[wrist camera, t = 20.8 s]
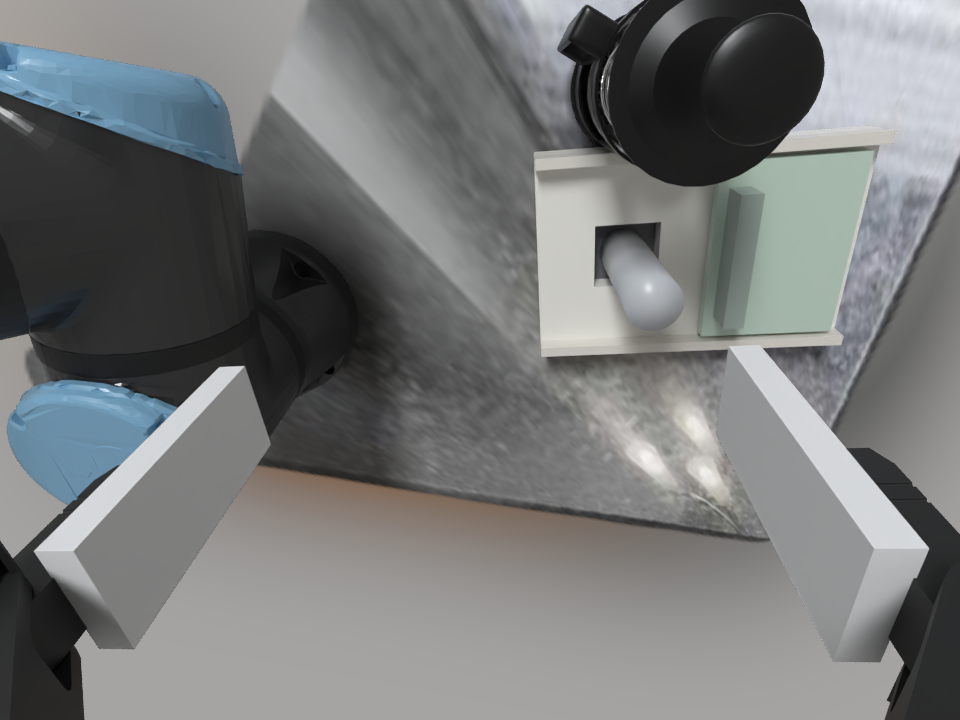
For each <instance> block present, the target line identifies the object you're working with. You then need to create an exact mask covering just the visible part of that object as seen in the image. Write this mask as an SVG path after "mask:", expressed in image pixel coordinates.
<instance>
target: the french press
mask: <svg viewBox="0 0 960 720" xmlns="http://www.w3.org/2000/svg"><path fill="white" fill-rule="evenodd" d="M641 7H642V8H641ZM640 8H641V9H640ZM557 50H558V52H560V53H561V54H563V55H565V56H566V57H568V58H570V59H571V60H573V61H575V62H576V65H575V69H574V73H573V77H572V82H571V100H572V108H573V111H574V114H575V117H576V120H577V122H578V124H579V126H580V127H581V129H582V131H583V132H584V133H585V135H586V136H587V137H588V138H589V139H590V140H591V141H592V142H593V143H595V144H596V145H598V146H599V147H606V148H608V149H609V150H611V151H612V152H614V153H615V154H617V155H619V156H620V157H622V158H623V159H625V160H626V161H628V162H629V163H631V164H633V165H635V166H637V167H639V168H640V169H642V170H643V171H644V172H646V173H647V174H648V175H650V176H651V177H654V178H656V179H658V180H661V181H663V182H665V183H668V184H673V185H678V186H683V187H703V186H708V185H713V184H718V183H722V182H725V181H727V180H730V179H732V178H735V177H737V176H740V175H741V174H743V173H745V172H746V171H748V170H750V169H751V168H753V167H755V166H756V165H758V164H759V163H760V162H761V161H763V160H764V159H765V158H766V157H767V156H768V155H770V154H771V153H772V152H773V151H774V150H775V149H776V148H777V147H778V145H779V144H780V143H781V142H782V141H783V140H784V138H785V137H786V136H787V135H788V134H789V132H790V131H791V129H793V128H794V127H795V126H796V125H797V124H798V123H799V122H800V121H801V120H802V119H803V118H804V117H805V115H806V114H807V113H808V112H809V110H810V109H811V107H812V105H813V104H814V102H815V100H816V98H817V96H818V93H819V91H820V89H821V85H822V81H823V76H824V63H825V62H824V55H823V49H822V46H821V44H820V41H819V38H818V37H817V35H816V34H815V32H814V31H813V29H812V25H811V23H810V20H809V17H808V15H807V12H806V9H805V7H804V5H803V4H802V2H801V1H800V0H644V1H642V2H641V3H640V4H638V5H637V6H636V7H634V8H633V9H632V10H630V11H629V12H628V13H627V14H626V15H623V16H621V17H619V18H618V19H616V20H615V21H614V20H612V19H610V18H609V17H607V16H606V15H604V14H602V13H601V12H599V11H598V10H596V9H594V8H593V7H591V6H589V5H585V6H584V7H583V8H582V9H581V11H580V12H579V13H578V14H577V15H576V17H575V18H574V19H573V20H572V21H571V23H570V24H569V26H568V28H567V30H566V32H565V34H564V36H563V38H562V39H561V41H560V43H559V45H558V49H557ZM621 151H622V152H621ZM623 152H624V153H626V154H624V153H623Z"/></svg>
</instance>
